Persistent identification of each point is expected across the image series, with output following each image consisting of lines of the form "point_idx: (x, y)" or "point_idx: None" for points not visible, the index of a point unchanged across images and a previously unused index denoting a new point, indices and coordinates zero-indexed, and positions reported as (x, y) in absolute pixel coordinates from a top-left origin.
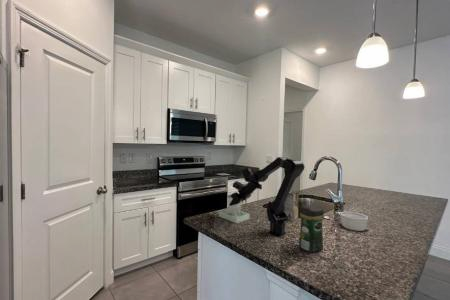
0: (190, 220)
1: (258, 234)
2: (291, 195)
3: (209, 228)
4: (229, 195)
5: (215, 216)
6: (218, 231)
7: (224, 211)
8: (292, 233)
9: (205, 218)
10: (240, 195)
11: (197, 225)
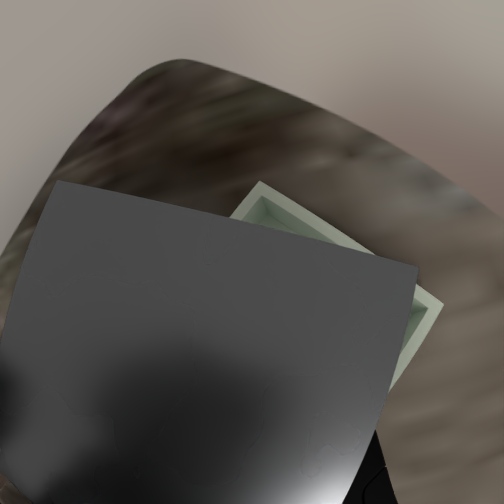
0: (144, 77)
1: (21, 494)
2: None
3: (33, 219)
4: (87, 221)
5: (256, 178)
6: (6, 279)
7: (318, 236)
8: None
9: (189, 127)
10: None
11: (72, 142)
